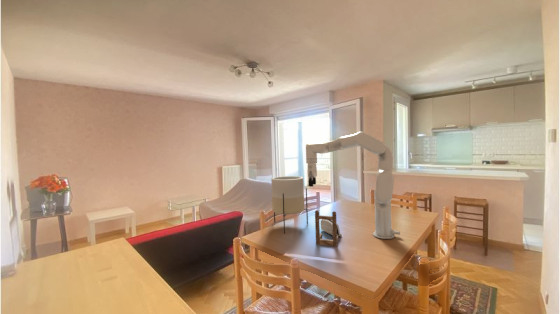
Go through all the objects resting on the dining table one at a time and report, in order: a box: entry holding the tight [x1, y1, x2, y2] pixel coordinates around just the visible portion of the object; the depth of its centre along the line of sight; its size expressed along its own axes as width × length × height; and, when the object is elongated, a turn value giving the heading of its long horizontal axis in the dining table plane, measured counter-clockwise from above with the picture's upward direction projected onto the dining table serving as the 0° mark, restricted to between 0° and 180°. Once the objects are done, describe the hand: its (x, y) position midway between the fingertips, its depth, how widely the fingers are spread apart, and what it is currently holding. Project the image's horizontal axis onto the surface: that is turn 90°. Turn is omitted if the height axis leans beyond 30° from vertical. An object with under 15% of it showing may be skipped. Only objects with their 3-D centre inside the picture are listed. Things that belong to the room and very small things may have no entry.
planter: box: [270, 175, 309, 234], centre depth 170 cm, size 26×27×36 cm
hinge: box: [320, 219, 343, 238], centre depth 152 cm, size 17×5×10 cm, turn 24°
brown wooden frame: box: [314, 209, 339, 248], centre depth 138 cm, size 12×11×20 cm
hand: (312, 185), depth 161 cm, fingers open, 9 cm apart
